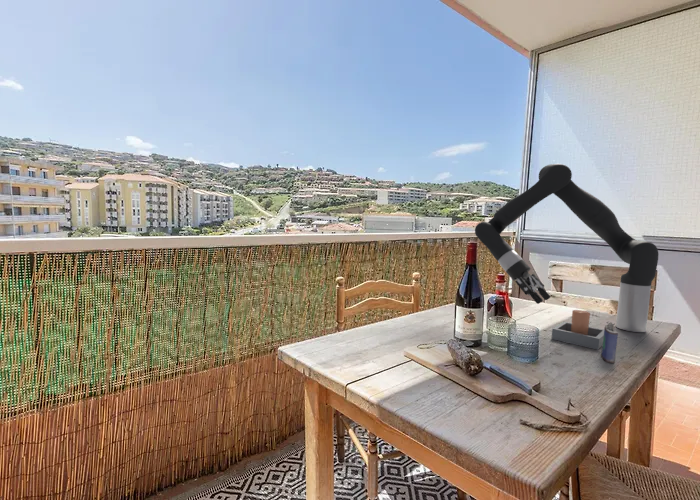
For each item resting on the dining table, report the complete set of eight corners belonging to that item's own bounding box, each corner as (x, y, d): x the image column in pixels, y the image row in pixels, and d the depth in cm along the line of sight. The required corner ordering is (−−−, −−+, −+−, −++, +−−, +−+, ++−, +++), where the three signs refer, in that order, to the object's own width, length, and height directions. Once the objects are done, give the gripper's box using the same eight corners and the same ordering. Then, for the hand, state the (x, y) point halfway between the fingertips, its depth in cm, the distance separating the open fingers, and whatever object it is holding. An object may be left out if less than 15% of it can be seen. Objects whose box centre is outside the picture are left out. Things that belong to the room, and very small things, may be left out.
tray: (562, 330, 137) (563, 321, 136) (607, 340, 128) (608, 330, 127) (551, 338, 127) (552, 328, 127) (598, 349, 118) (599, 338, 118)
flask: (615, 364, 106) (619, 327, 105) (603, 362, 108) (606, 325, 107) (611, 354, 115) (614, 319, 114) (599, 352, 116) (603, 318, 115)
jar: (572, 334, 131) (574, 309, 130) (588, 338, 127) (591, 312, 127) (568, 337, 127) (570, 311, 126) (585, 341, 124) (588, 314, 123)
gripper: (514, 260, 134) (546, 297, 127) (528, 257, 144) (559, 291, 137) (498, 273, 138) (529, 309, 131) (513, 269, 148) (542, 303, 142)
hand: (544, 300), depth 134 cm, fingers open, 8 cm apart
